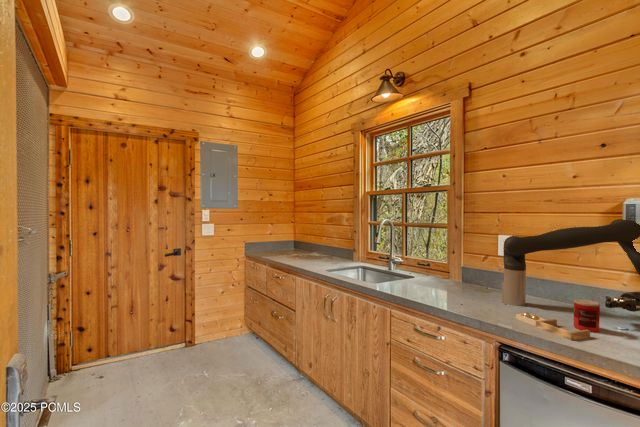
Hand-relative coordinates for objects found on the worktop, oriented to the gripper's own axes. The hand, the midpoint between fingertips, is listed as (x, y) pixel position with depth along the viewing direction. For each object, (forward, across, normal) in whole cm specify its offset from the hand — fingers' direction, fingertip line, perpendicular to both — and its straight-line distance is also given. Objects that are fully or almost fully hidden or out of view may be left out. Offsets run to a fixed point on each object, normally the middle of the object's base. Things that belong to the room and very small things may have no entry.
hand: (607, 305), depth 131 cm
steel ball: (+24, -15, +8) cm, 29 cm away
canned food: (+11, 0, +9) cm, 14 cm away
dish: (+24, -13, +8) cm, 29 cm away
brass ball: (+24, -11, +8) cm, 28 cm away
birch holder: (+23, 0, +8) cm, 25 cm away
